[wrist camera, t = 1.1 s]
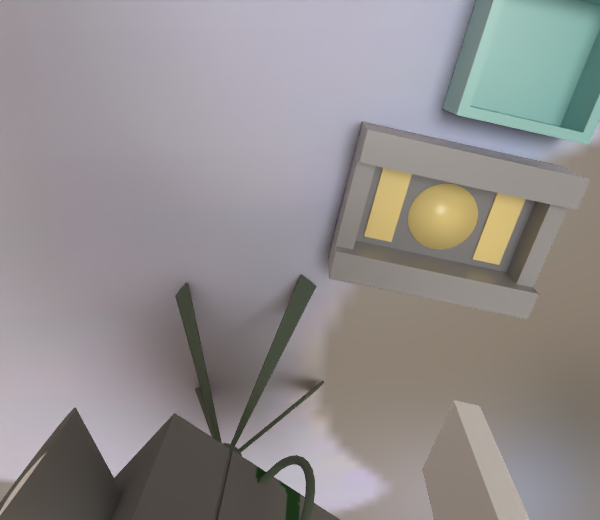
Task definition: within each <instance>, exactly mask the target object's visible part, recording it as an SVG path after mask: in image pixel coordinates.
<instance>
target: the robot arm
mask: <svg viewBox="0 0 600 520" xmlns="http://www.w3.org/2000/svg"><path fill="white" fill-rule="evenodd" d="M422 471H423V474H424V478H425V483H426V487H427V491H428V495H429V500H430V504H431V508H432V512H433V516H434V520H529V518H528V515H527V513H526V511H525V508H524V506H523V504H522V502H521V500H520V497H519V495H518V492H517V490H516V488H515V486H514V484H513V481H512V479H511V477H510V474H509V472H508V470H507V467H506V465H505V464H504V461H503V458H502V457H501V454H500V452H499V449H498V447H497V445H496V442H495V440H494V438H493V435H492V433H491V431H490V429H489V427H488V424H487V422H486V420H485V417H484V415H483V413H482V410H481V408H480V406H478V405H473V404H468V403H463V402H459V401H453V404H452V406H451V408H450V410H449V412H448V414H447V416H446V419H445V421H444V423H443V425H442V428H441V430H440V432H439V434H438V436H437V438H436V441H435V443H434V445H433V447H432V449H431V452H430V454H429V456H428V458H427V460H426V462H425V465H424V467H423V469H422Z"/></svg>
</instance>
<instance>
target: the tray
mask: <svg viewBox="0 0 600 520" xmlns="http://www.w3.org/2000/svg"><path fill="white" fill-rule="evenodd" d="M442 109H444V110H446V111H448V112H451V113H453V114H455V115H459V116H463V117H468V118H472V119H477V120H481V121H485V122H490V123H494V124H499V125H503V126H507V127H512V128H516V129H521V130H525V131H530V132H534V133H538V134H543V135H547V136H552V137H556V138H560V139H565V140H569V141H574V142H578V143H582V144H587V145H589V143H590V140H591V138H592V136H593V133H594V131H595V129H596V126H597V124H598V122H599V120H600V0H476V2H475V6H474V9H473V12H472V15H471V18H470V22H469V25H468V28H467V31H466V34H465V38H464V41H463V44H462V47H461V50H460V54H459V57H458V60H457V63H456V66H455V70H454V73H453V76H452V79H451V82H450V86H449V89H448V92H447V95H446V98H445V102H444V105H443V108H442Z"/></svg>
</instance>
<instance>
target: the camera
mask: <svg viewBox="0 0 600 520" xmlns="http://www.w3.org/2000/svg"><path fill="white" fill-rule="evenodd" d="M315 288H316V286H315V285H314V284H313V283H312V282H310V281H309V280H308V279H306V278H305V277H304V276H302V275H300V277H299V280H298V282H297V285H296V287H295V289H294V292H293V294H292V297H291V299H290V302H289V304H288V306H287V309H286V311H285V314H284V316H283V319H282V321H281V323H280V326H279V328H278V331H277V333H276V336H275V338H274V340H273V343H272V345H271V348H270V350H269V353H268V355H267V357H266V360H265V362H264V365H263V367H262V370H261V372H260V374H259V377H258V379H257V382H256V384H255V387H254V389H253V391H252V394H251V396H250V399H249V401H248V404H247V406H246V408H245V411H244V413H243V416H242V418H241V420H240V423H239V425H238V428H237V430H236V433H235V435H234V437H233V440H232V442H231V444H226V443H224V444H222V443H221V438H220V433H219V428H218V423H217V419H216V414H215V409H214V404H213V400H212V395H211V390H210V385H209V380H208V376H207V371H206V366H205V361H204V356H203V352H202V347H201V342H200V337H199V332H198V328H197V323H196V318H195V313H194V309H193V304H192V299H191V294H190V289H189V285H188V283H186V284H185V285H184V286H183V287H182V288H181V289H180V291H179V292H178V293H177V294H176V300H177V303H178V307H179V311H180V314H181V318H182V321H183V325H184V329H185V332H186V336H187V339H188V343H189V347H190V350H191V354H192V358H193V361H194V365H195V368H196V372H197V376H198V379H199V383H200V387H201V390H202V391H201V390H200V389H198V388H196V389H195V390H196V393H197V396H198V399H199V402H200V404H201V407H202V410H203V413H204V416H205V418H206V421H207V424H208V427H209V430H210V432H211V435H212V437H211V436H209V435H208V434H206V433H205V432H203V431H202V430H200V429H198V428H197V427H195V426H194V425H192V424H191V423H189V422H188V421H186V420H184V419H183V418H181V417H180V416H178V415H177V414H175V413H174V414H173V415H172V416H171V417H170V419H169V420H168V421H167V422H166V423H165V424H164V425H163V426H162V427H161V428H160V429H159V430H158V432H157V433H156V434H155V435H154V436H153V437H152V438H151V439H150V440H149V441H148V442H147V443H146V444H145V446H144V447H143V448H142V449H141V450H140V451H139V452H138V453H137V454H136V455H135V456H134V457H133V458H132V460H131V461H130V462H129V463H128V464H127V465H126V466H125V467H124V468H123V469H122V470H121V471H120V472H119V474H118V475H117V476H116V477H115V478H114V477H113V476H112V474H111V472H110V470H109V468H108V466H107V464H106V463H105V461H104V459H103V457H102V455H101V453H100V452H99V450H98V448H97V446H96V444H95V442H94V441H93V439H92V437H91V435H90V433H89V431H88V429H87V428H86V426H85V424H84V422H83V420H82V418H81V417H80V415H79V413H78V411H77V409H76V407H75V408H74V409H73V410H72V411H71V412H70V413H69V414H68V415H67V417H66V418H65V419H64V420H63V421H62V422H61V424H60V425H59V426H58V427H57V429H56V430H55V431H54V432H53V434H52V435H51V436H50V437H49V439H48V440H47V441H46V443H45V444H44V445H43V446H42V448H41V449H40V450H39V452H38V453H37V454H36V455H35V457H34V458H33V459H32V461H31V462H30V463H29V465H28V466H27V467H26V469H25V470H24V471H23V473H22V474H21V475H20V477H19V478H18V479H17V481H16V482H15V483H14V485H13V486H12V487H11V489H10V490H9V491H8V493H7V494H6V495H5V497H4V498H3V500H2V501H1V502H0V520H340V519H338V518H336V517H335V516H333V515H332V514H330V513H329V512H327V511H326V510H324V509H323V508H321V507H319V506H318V505H316V504H315V503H314V495H315V479H314V474H313V470H312V468H311V466H310V464H309V462H308V461H307V460H306V459H304V458H303V457H300V456H297V455H296V456H289V457H287V458H284V459H282V460H281V461H279V462H278V463H276V464H275V465H274V466H273V467H272V468H271V469H270V470H269V471H267V472H265V471H264V470H262V469H260V468H259V467H257V466H256V465H254V464H253V463H251V462H250V461H248V460H247V459H245V458H243V457H242V455H241V452H242V451H243V450H244V449H246V448H247V447H248V446H249V445H250V444H252V443H253V442H254V441H255V440H257V439H258V438H259V437H260V436H261V435H263V434H264V433H265V432H266V431H268V430H269V429H270V428H271V427H272V426H274V425H275V424H276V423H277V422H279V421H280V420H281V419H282V418H283V417H285V416H286V415H287V414H288V413H290V412H291V411H292V410H293V409H294V408H296V407H297V406H298V405H299V404H301V403H302V402H303V401H304V400H305V399H307V398H308V397H309V396H310V395H312V394H313V393H314V392H315V391H316V390H317V389H318V388H319V387H320V386H321V385H322V384H323V383H324V381H322V382H320V383H319V384H318V385H317V386H315V387H314V388H313V389H312V390H311V391H309V392H308V393H307V394H306V395H304V396H303V397H302V398H301V399H299V400H298V401H297V402H296V403H295V404H293V405H292V406H291V407H290V408H288V409H287V410H286V411H285V412H284V413H282V414H281V415H280V416H279V417H277V418H276V419H275V420H274V421H272V422H271V423H270V424H269V425H268V426H266V427H265V428H264V429H263V430H261V431H260V432H259V433H258V434H257V435H255V436H254V437H253V438H252V439H250V440H249V441H248V442H247V443H246V444H244V445H243V446H242V447H241V448H239V449H237V448H236V447H235V445H236V443H237V441H238V439H239V437H240V435H241V433H242V431H243V429H244V427H245V425H246V423H247V421H248V419H249V417H250V415H251V413H252V411H253V409H254V408H255V406H256V404H257V402H258V400H259V398H260V396H261V394H262V392H263V390H264V388H265V386H266V384H267V382H268V380H269V378H270V376H271V374H272V372H273V370H274V368H275V366H276V364H277V362H278V360H279V358H280V356H281V355H282V353H283V351H284V349H285V347H286V345H287V343H288V341H289V339H290V337H291V335H292V333H293V331H294V329H295V327H296V325H297V323H298V321H299V319H300V317H301V315H302V313H303V311H304V309H305V307H306V305H307V303H308V302H309V300H310V298H311V296H312V294H313V292H314V290H315ZM292 464H297V465H299V466H301V468H302V469H303V471H304V474H305V479H306V494H305V497H304V496H302V495H301V494H299V493H298V492H296V491H295V490H293V489H291V488H290V487H288V486H287V485H285V484H284V483H282V482H281V481H279V480H278V479H276V478H274V476H275V475H276V474H277V473H278V472H279V471H280V470H281V469H283V468H285V467H286V466H289V465H292Z"/></svg>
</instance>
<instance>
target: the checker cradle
mask: <svg viewBox="0 0 600 520" xmlns="http://www.w3.org/2000/svg"><path fill="white" fill-rule="evenodd" d="M589 182H590V179H589V178H586V177H584V176H582V175H580V174H578V173H575V172H573V171H571V170H569V169H567V168H564V167H562V166H558V165H553V164H549V163H545V162H540V161H536V160H531V159H527V158H522V157H518V156H513V155H509V154H504V153H500V152H495V151H491V150H486V149H482V148H477V147H473V146H469V145H464V144H460V143H455V142H451V141H446V140H442V139H437V138H433V137H428V136H424V135H419V134H415V133H410V132H406V131H402V130H397V129H393V128H388V127H384V126H379V125H375V124H370V123H366V122H362V126H361V130H360V134H359V137H358V141H357V145H356V149H355V153H354V157H353V161H352V165H351V169H350V173H349V177H348V181H347V185H346V189H345V193H344V197H343V201H342V205H341V209H340V212H339V216H338V220H337V224H336V228H335V232H334V236H333V240H332V244H331V248H330V252H329V256H328V263H329V278H330V279H335V280H340V281H344V282H349V283H354V284H359V285H364V286H369V287H373V288H379V289H383V290H388V291H393V292H398V293H403V294H407V295H412V296H417V297H422V298H426V299H432V300H436V301H441V302H446V303H451V304H456V305H460V306H465V307H470V308H475V309H480V310H484V311H489V312H494V313H499V314H504V315H509V316H513V317H519V318H523V319H528V318H529V315H530V313H531V311H532V309H533V307H534V304H535V302H536V300H537V298H538V295H539V293H538V292H537V291H536V290H535V289H534V288H533V286H534V284H535V282H536V280H537V278H538V275H539V273H540V271H541V269H542V266H543V264H544V262H545V260H546V257H547V255H548V253H549V251H550V248H551V246H552V244H553V241H554V239H555V237H556V235H557V232H558V230H559V228H560V226H561V223H562V221H563V219H564V217H565V214H566V212H567V210H568V208H569V209H574V210H577V209H578V207H579V204H580V202H581V200H582V198H583V195H584V193H585V191H586V189H587V186H588V184H589Z"/></svg>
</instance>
